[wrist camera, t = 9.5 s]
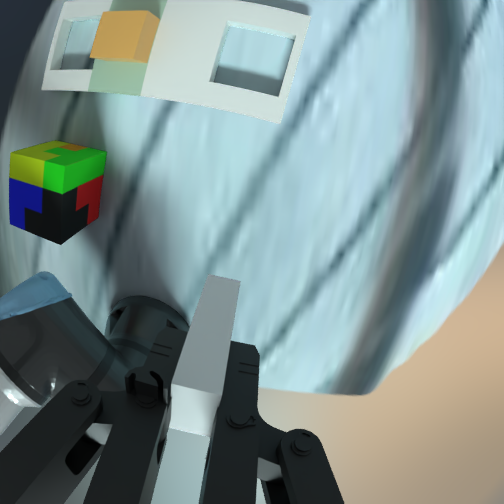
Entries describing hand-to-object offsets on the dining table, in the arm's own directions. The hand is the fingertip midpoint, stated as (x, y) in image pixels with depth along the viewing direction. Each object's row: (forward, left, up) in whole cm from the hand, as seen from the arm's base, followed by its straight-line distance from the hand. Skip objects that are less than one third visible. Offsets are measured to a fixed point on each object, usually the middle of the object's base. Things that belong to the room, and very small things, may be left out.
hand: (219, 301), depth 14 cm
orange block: (+15, +19, -23) cm, 34 cm away
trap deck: (+15, +16, -26) cm, 34 cm away
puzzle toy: (-5, +26, -26) cm, 37 cm away
